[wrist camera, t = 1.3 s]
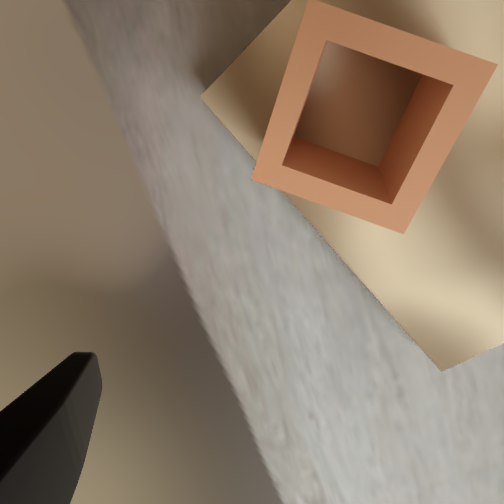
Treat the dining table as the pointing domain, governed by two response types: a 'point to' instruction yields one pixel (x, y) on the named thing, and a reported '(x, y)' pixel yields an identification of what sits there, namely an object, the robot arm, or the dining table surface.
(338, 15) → the collar
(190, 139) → the dining table surface
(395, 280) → the post board
